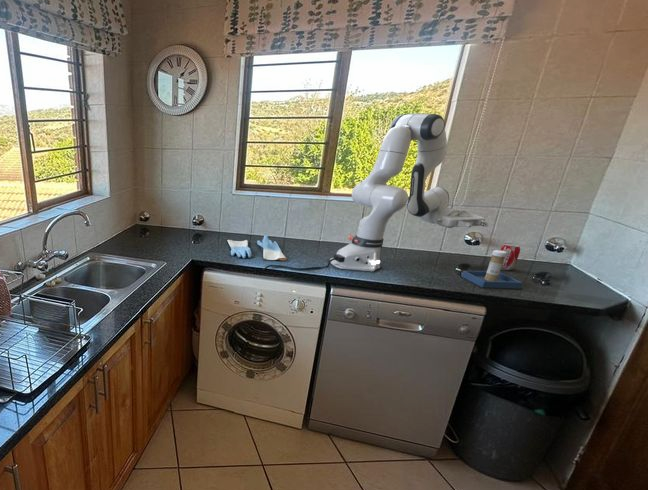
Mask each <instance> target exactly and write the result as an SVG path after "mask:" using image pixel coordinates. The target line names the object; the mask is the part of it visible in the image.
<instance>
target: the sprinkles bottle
mask: <svg viewBox="0 0 648 490" xmlns="http://www.w3.org/2000/svg"><path fill="white" fill-rule="evenodd" d="M506 254H507V252H505V251H501V250H500V249H493V251H492V254H491V258H490V261H489V264H488V266H487V269H486V271H487V273H486V276H485V278H484V279H485V280H487V281H497V279H498V276H499V274H500V272H501V271H502V270H501V267H502V264H503V261H504V258H505V257H506Z"/></svg>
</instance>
